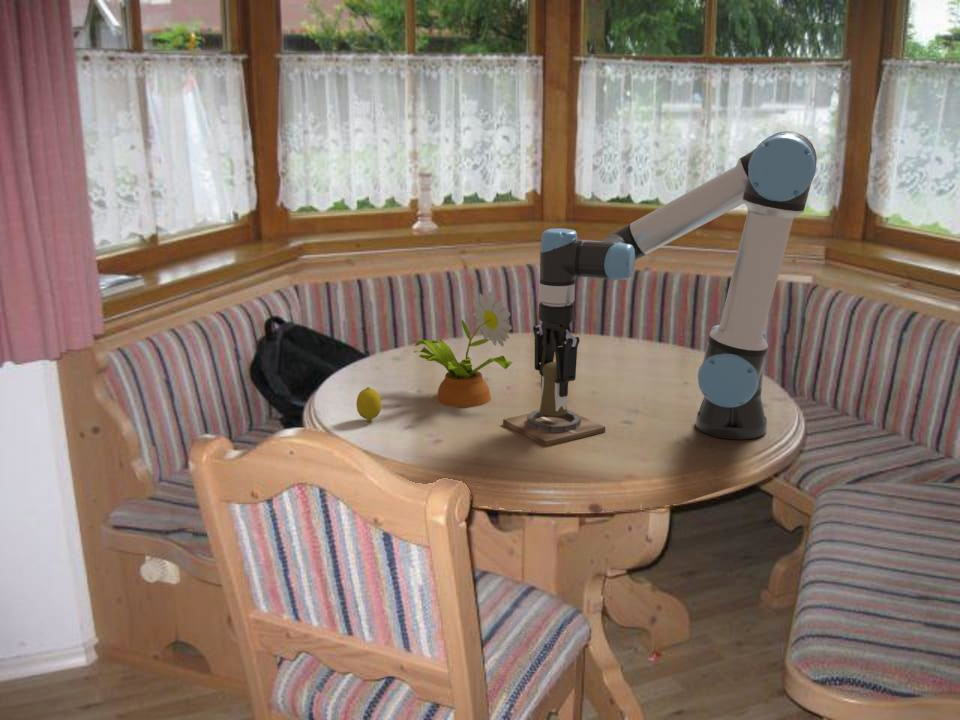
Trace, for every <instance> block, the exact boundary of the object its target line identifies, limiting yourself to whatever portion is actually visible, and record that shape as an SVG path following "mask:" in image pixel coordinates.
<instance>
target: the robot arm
mask: <svg viewBox="0 0 960 720" xmlns="http://www.w3.org/2000/svg"><path fill="white" fill-rule="evenodd" d="M817 157H818V156H817V152H816V150H815V147H814V145H813V143H812V142H811V140H809V139H808V138H807V137H806V136H804V134H801V133H799V132H795V131H792V130H791V131H788V130H786V131H779V132H777V133H774V134H772V135H770V136H769V137H767V138H765V139H763V141H761V142H760V143H759V144H758V145H757V146H756V148H755V149H753V150H751V151H750V152H748V153H746V154H745V155H743V156H741V157H739V158H738V161H737V163H736V165H735V166H734V167H731V168H730V169H727V170H725V171H724V172H723V173H720V174H719V175H717V176H715V177H713V178H711V179H710V180H707V181H706V182H703V183H702V184H701V185H699V186H697V187H695V188H693V189H691V190H689V191H688V192H686V193H684V194H682V195H680V196H678V197H677V198H674V199H673V200H671V201H670V202H668V203H666V204H663V205H662V206H661V207H659V208H657V209H655V210H653V211H651V212H650V213H648V214H645V215H644V216H642V217H640V218H638V219H637V220H635V221H633V222H631V223H629V224H628V225H626V226H624V227H622V228H620V229H619V230H615V231H613V232H611V233H610V234H608V235H607V236H606V237H605V238H603V239H602V240H601V241H592V240H589V241H588V240H581V239H579V238H578V234H577V231H576V230H574V229H572V228H571V229H570V228H569V229H568V228H563V227H562V228H557V227H556V228H548V229H546V230H544V231H543V232H542V233H541V239H540V250H539V283H538V284H539V285H538V287H539V290H538V300H539V301H540V302H539V303H538V320H539V321H541V324H540V325H534V326H533V327H532V330H533V335H534V370H535V371H538V373H539V375H540V389H541V397H540V398H541V400H542V394H543V387H544V381H545V377H544V376H543V367H544V365H545V364H546V363H549V362H554V359H555V362H556V367H557V378H558V380H555V408H556V411H558V410H559V408H560V407H561V406H563V409H564V410H565V409H566V405H567V397H568V395H569V393H568V392H569V382H574V381H575V380H576V376H577V374H576V373H577V362H578V361H577V359H578V357H577V356H578V347H579V343H580V337H578V336H574V335H573V334H572V329H571V323H572V322H573V321H574V320H575V304H574V303H573V302H575V295H576V294H575V293H576V292H575V289H576V277H578V278H579V277H580V278H592V279H603V280H611V281H619V280H620V281H626V280H630V279H631V278H632V276H633V273H634V269H635V264H636V261H637V260H639V259H641V258H643V257H645V256H646V255H649V254H650V253H652V252H654V251H656V250H658V249H660V248H662V247H663V246H666V245H667V244H669V243H671V242H673V241H675V240H677V239H678V238H681V237H682V236H684V235H686V234H688V233H691V232H692V231H695V230H696V229H697V228H699V227H701V226H704V225H705V224H708V223H709V222H711V221H713V220H715V219H717V218H719V217H721V216H723V215H724V214H727V213H729V212H731V211H732V210H734V209H737V208H738V207H740V206H741V205H743V204H745V206H746V208H747V213H746V218H745V221H744V226H743V230H742V233H741V237H740V241H739V246H738V250H737V255H736V258H735V261H734V266H733V270H732V273H731V274H732V275H731V277H730V282H729V287H728V291H727V294H726V299H725V304H724V306H723V309H722V314H721V319H720V323H719V324H717V325H716V324H715V325H714V326H712V328H711V329H710V332H709V335H708V339H707V343H706V344H707V345H706V347H705V352H704V356H703V360H702V363H701V364H700V366H699V369H698V372H697V382H698V387H699V390H700V392H701V394H702V395H703V399H702V401H701V405H700V407H699V410H698V411H697V412H696V419H695V420H696V421H695V427H696V428H697V430H699V431H700V432H702V433H704V434H706V435H709V436H711V437H712V436H713V437H714V438H715V437H716V438H719V439H727V440H728V439H729V440H749V439H750V440H752V439H757V438H759V437H762V436H764V435H765V434H766V433H767V429H768V419H767V417H766V415H765V411H764V405H763V399H762V390H763V378H764V366H765V359H766V355H767V350H768V347H769V343H767V342H768V341H767V333H766V331H765V327H766V325H767V324H766V323H767V320H768V316H769V313H770V309H771V305H772V302H773V298H774V293H775V289H776V287H777V282H778V279H779V275H780V270H781V266H782V262H783V259H784V255H785V252H786V248H787V245H788V242H789V238H790V232H791V230H792V226H793V225H792V224H793V221H794V219H795V218H796V217H798V216H799V215H801V214H802V213H804V211H805V209H806V205H807V201H808V197H809V193H810V189H811V185H812V182H813V180H814V177H815V176H816V170H817V162H818V161H817ZM541 400H540V401H541Z"/></svg>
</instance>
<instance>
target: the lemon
mask: <svg viewBox="0 0 960 720" xmlns="http://www.w3.org/2000/svg"><path fill="white" fill-rule="evenodd" d="M356 409H357V410H356V411H357V413H358V414H359V416H360V417H361V418H362V419H365V420H367V422H371V421H372V420H373V419H375V418H376V417H378V416H379V414H380V413H381V410H382V399H381V396H380V394H379V392H378V391H377V390H376V389H374V388H372V387H370V386H367V387H366V388H364V389H362V390H361V391H359V393H358V395H357V398H356Z"/></svg>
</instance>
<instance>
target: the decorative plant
mask: <svg viewBox="0 0 960 720" xmlns="http://www.w3.org/2000/svg"><path fill="white" fill-rule="evenodd" d="M478 297H479V299H478V300H477V301H476V300H472V304H473V307H474V308H473V310H474V312H473V313H472V315H473V317H474V318H476V322H477V325H476V329H475V331H474V333H473V334H471V333H470V330H469V328H468V326H467V324H466V323H465V321H464V320H463V319H461V327H462V329H463V331H464V333H465V335H466V337H467V338H468V340H469V341H468V344H467V349H466V352H465V359H462V360H461V361H460V362H459V361H458V360H457V358H456V356H455V355H454V352H453V350H452V349H451V347H450V345H448V344H446V343H445V342H444V341H443V339H440V338H439V339H435V340H433V339H432V338H430V340H426V339H420V340H417V341H416V342H415V344H414V347H417V346H420V345H425V346H427V348H426V347H425V346H423V348H422V349H421V350H419V351H418V350H413V354H415V353H420V354H419V356H418V358H422V359H425V360H426V361H429V362H436V363H438V364H440V365H441V366H444V368H445V369H446V370H447V372H446V373H445V375H444V379H443V380H442V381H441V383H440V384H439V386H438V389H437V395H436V397H435V398H436V402H437V403H439V404H441V405H442V406H443V405H444V406H447V407H451V408H473V407H474V408H475V407H479V406H483V405H486V404H488V403H489V402H491V401H492V396H491V393H490V388H489V386H488V383H487V382H486V380H485V379H484V378H483V374H482V372H480V371H479V370H481V369H483V368H484V367H485V366H488V365H489V364H491V363H493V362H495V363H497V364H498V365H499V366H501V367H502V368H504V370H507V369H508V368H509V367H510V366H511V365H512V364H513V362H512V361H510V360H507V359H506V357H505V356H504V355H500V356H499V357H498V356H496V357H490V358H489V359H487V360H486V361H484V362H483V363H481V364H480V365H478V366H477V367H476V368H474V369H473V368H472V367H473V364H472V362H471V361H473V359H472V358H470V357H469V356H468V355H469V351H470V347H477V346H481V345H483V344H485V343H488V342H489V341H491V342H492V344H493V346H497V343H498V344H499V345H500V346H501V347H504V344H505V343H504V342H507V340H508V339H510V336H509V334H508V333H510V330H513V327H512V325H511V324H510V320H509V319H508V318H509V317H510V316H511V312H510V311H507V310H506V307H505V306H504V301H499V300H498V299H496V300H493V295H492V292H491V291H489V292H488V293H487V294H485V295H483V294H482V293H479V296H478ZM478 331H481V332H482V335H483V338H482V339H478V340H476V341H474V342H472V339H473V338H474V337H475V336H476V334H477V332H478ZM471 335H472V336H471ZM423 353H424V354H423Z"/></svg>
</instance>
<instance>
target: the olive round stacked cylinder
mask: <svg viewBox="0 0 960 720" xmlns="http://www.w3.org/2000/svg"><path fill="white" fill-rule="evenodd" d="M543 376H544V377H545V381H544V387H543V394H542V400H540V405H539V407H540V408H539V410H540V413H542V414H544V415H548V416H561V415H564V414H566V413H567V410H568V407H567V404H566V409H565V410H564V409H563V406H561V407H560V408H559V410H558V411H556V408H555V380H558V378H557V367H556V361H553V362H549V363H546V364H545V365H544V367H543Z"/></svg>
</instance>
